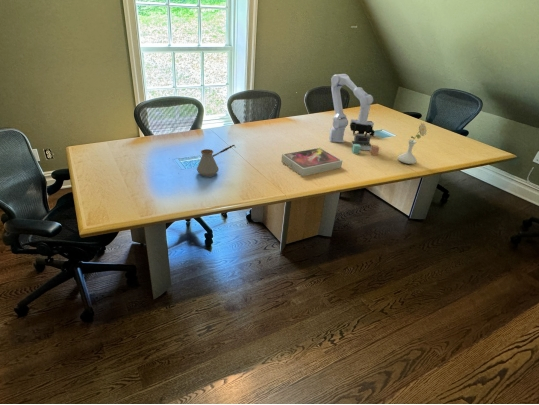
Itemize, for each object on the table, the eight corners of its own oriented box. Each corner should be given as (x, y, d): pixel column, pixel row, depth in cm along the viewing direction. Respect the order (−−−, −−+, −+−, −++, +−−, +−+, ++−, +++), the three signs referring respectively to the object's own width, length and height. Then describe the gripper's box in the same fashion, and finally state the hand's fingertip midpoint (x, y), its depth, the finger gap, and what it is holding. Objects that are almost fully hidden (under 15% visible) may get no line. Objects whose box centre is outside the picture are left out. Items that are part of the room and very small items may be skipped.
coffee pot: (200, 179, 176) (198, 153, 168) (194, 170, 185) (193, 144, 177) (238, 174, 184) (239, 148, 177) (231, 165, 193) (231, 140, 186)
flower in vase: (404, 166, 207) (415, 126, 194) (393, 158, 216) (403, 120, 204) (422, 164, 211) (434, 125, 198) (410, 157, 220) (421, 119, 207)
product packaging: (281, 162, 203) (282, 154, 200) (318, 154, 216) (319, 147, 213) (302, 177, 187) (303, 168, 185) (341, 168, 200) (342, 160, 198)
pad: (357, 150, 225) (357, 149, 225) (355, 145, 232) (355, 144, 232) (372, 151, 225) (372, 150, 225) (369, 146, 232) (369, 145, 232)
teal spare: (353, 153, 220) (354, 146, 218) (351, 150, 224) (353, 143, 221) (359, 153, 220) (360, 146, 218) (357, 151, 224) (359, 144, 221)
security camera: (374, 137, 250) (377, 123, 245) (349, 135, 250) (352, 122, 245) (372, 133, 256) (375, 120, 251) (348, 132, 256) (350, 119, 251)
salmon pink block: (371, 154, 220) (373, 147, 218) (370, 152, 224) (371, 145, 221) (377, 155, 220) (379, 147, 218) (376, 152, 224) (377, 145, 221)
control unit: (353, 144, 234) (354, 135, 231) (351, 141, 238) (353, 133, 235) (370, 145, 234) (372, 136, 231) (368, 143, 238) (370, 134, 235)
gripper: (376, 114, 217) (371, 135, 224) (353, 111, 221) (349, 131, 228) (374, 117, 211) (370, 138, 218) (351, 114, 215) (347, 134, 222)
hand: (359, 135), depth 223 cm, fingers open, 7 cm apart
